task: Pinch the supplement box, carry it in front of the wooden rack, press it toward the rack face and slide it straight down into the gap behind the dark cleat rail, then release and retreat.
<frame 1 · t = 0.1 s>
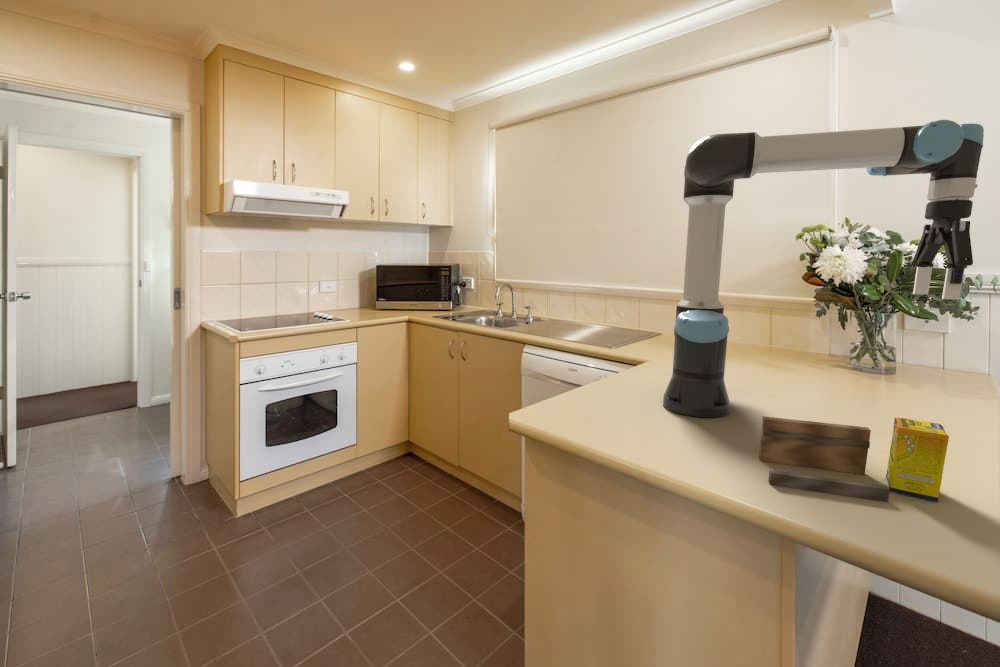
hand: (934, 296, 108), 28 cm above the countertop, fingers open, 13 cm apart
supplement box: (910, 491, 77), on the countertop
wooden rack: (809, 465, 85), on the countertop
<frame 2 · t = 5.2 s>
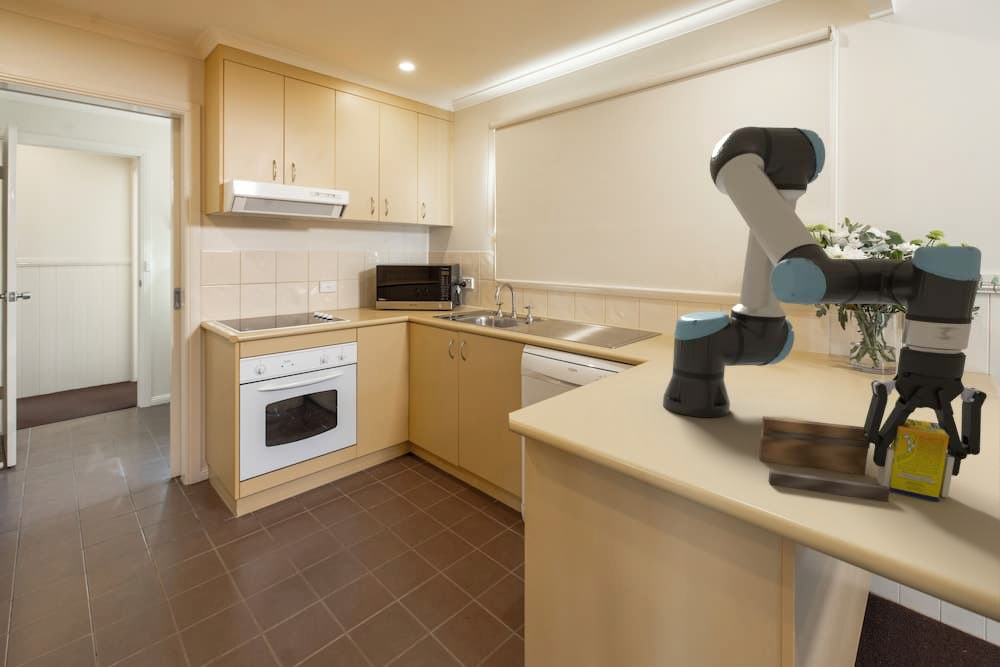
hand: (911, 488, 77), 0 cm above the countertop, fingers closed on supplement box, 7 cm apart
supplement box: (910, 491, 77), on the countertop, touching gripper
when the fingers open (2 cm above the countertop, at t = 9.4 s): supplement box stays where it is, on the countertop.
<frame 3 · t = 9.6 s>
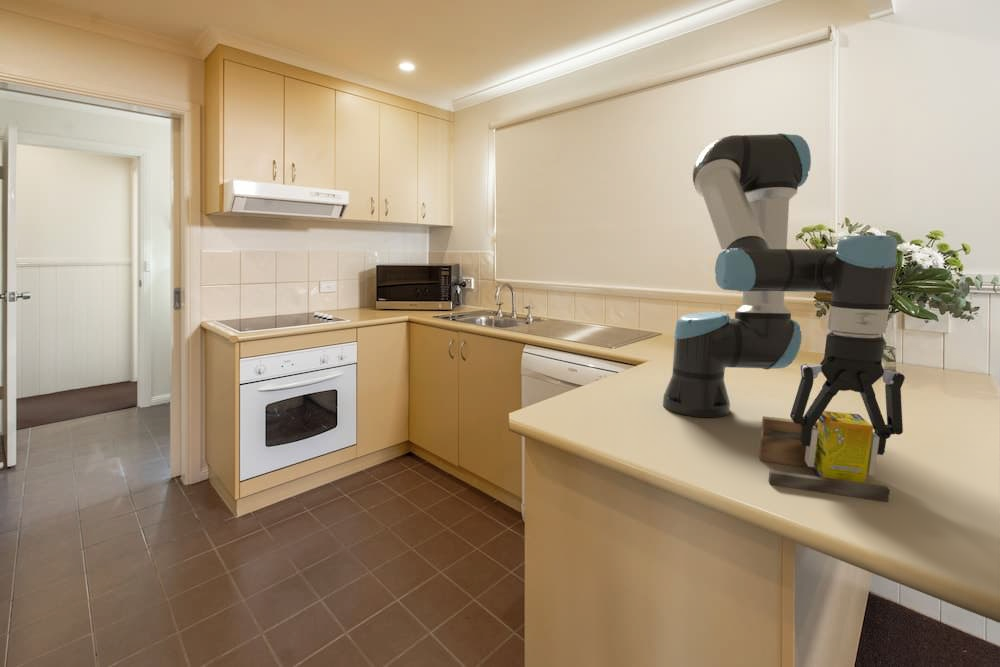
hand: (838, 467, 80), 2 cm above the countertop, fingers open, 8 cm apart
supplement box: (836, 480, 80), on the countertop
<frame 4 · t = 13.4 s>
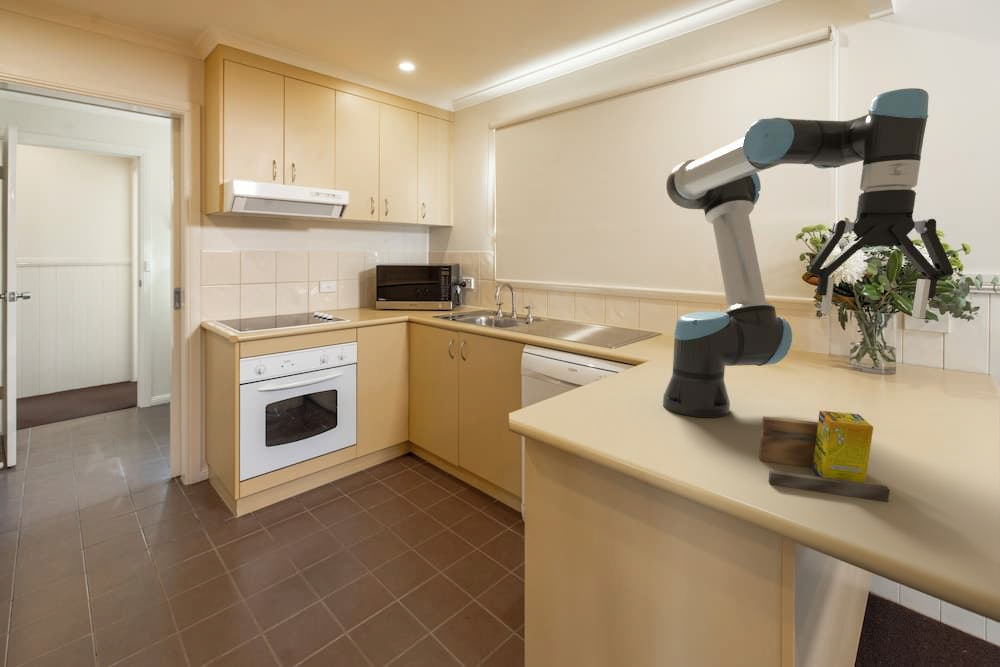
hand: (870, 316, 84), 27 cm above the countertop, fingers open, 13 cm apart
nothing on the countertop moved.
at the end: supplement box inside the target area on the wooden rack (3.1 cm from its centre), point 0.0 cm above the wooden rack's base; supplement box tilted 0°; the gripper is holding nothing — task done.
